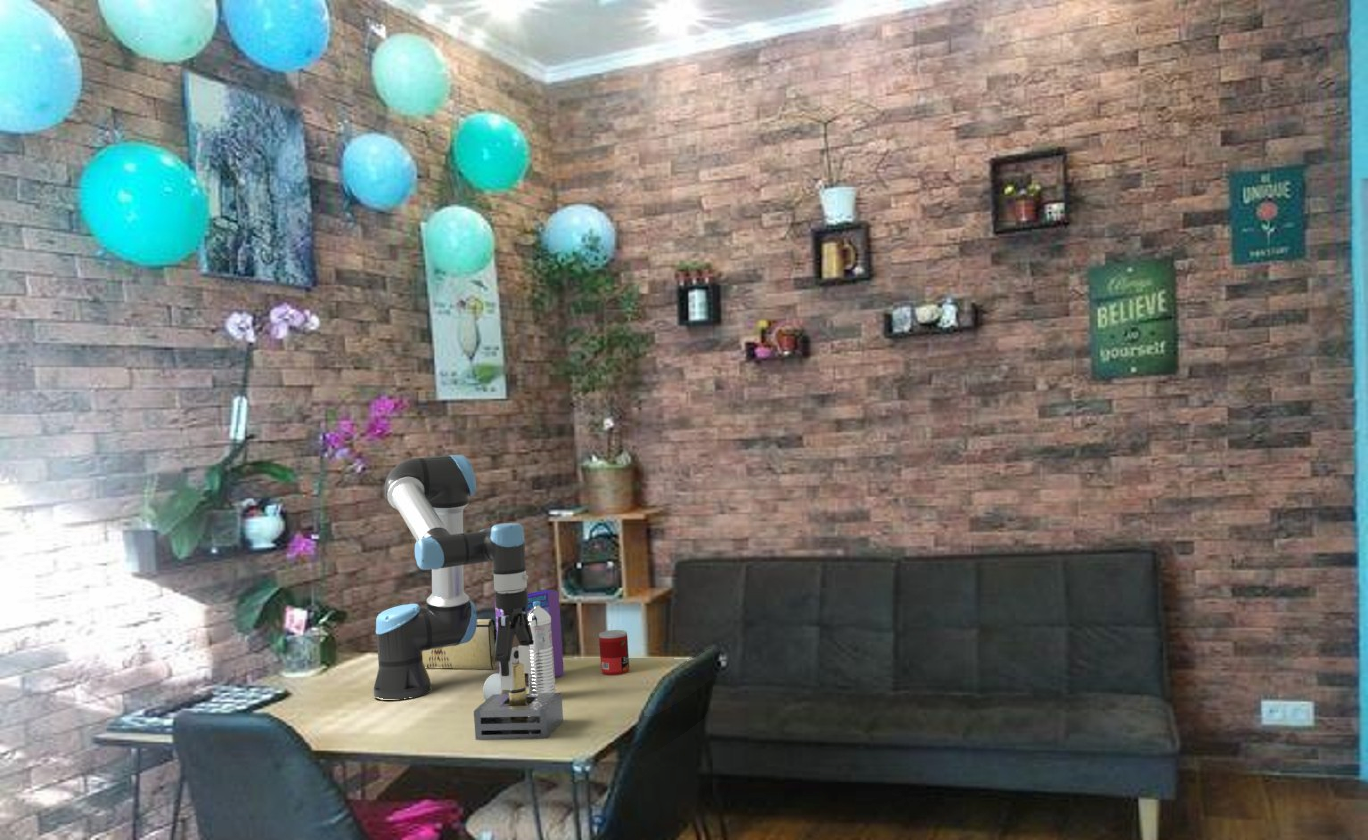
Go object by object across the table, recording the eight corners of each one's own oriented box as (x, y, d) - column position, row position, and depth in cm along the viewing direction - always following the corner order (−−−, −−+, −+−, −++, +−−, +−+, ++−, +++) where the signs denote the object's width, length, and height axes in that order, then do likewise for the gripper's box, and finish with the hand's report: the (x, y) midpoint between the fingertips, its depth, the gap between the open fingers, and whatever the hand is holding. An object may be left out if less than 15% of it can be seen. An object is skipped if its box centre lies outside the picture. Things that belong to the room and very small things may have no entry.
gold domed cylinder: (508, 728, 224) (503, 668, 224) (514, 722, 228) (509, 663, 228) (525, 727, 223) (520, 667, 223) (530, 721, 227) (526, 662, 227)
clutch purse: (508, 664, 289) (505, 614, 289) (497, 671, 282) (494, 619, 282) (421, 663, 298) (418, 615, 298) (408, 669, 291) (405, 620, 291)
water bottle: (550, 701, 246) (544, 604, 246) (525, 702, 248) (519, 604, 248) (559, 694, 253) (553, 598, 253) (535, 694, 255) (528, 599, 255)
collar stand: (475, 739, 220) (473, 710, 220) (494, 721, 233) (493, 694, 233) (547, 737, 218) (545, 709, 218) (563, 719, 231) (561, 692, 231)
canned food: (628, 674, 268) (625, 634, 268) (599, 676, 268) (597, 636, 268) (630, 667, 276) (627, 628, 276) (602, 669, 276) (600, 630, 276)
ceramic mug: (503, 711, 241) (501, 680, 241) (482, 706, 246) (481, 676, 246) (536, 701, 249) (534, 671, 249) (515, 696, 254) (514, 667, 254)
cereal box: (508, 689, 261) (502, 600, 261) (500, 686, 265) (494, 598, 265) (564, 675, 272) (558, 590, 272) (555, 672, 276) (549, 588, 276)
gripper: (509, 600, 213) (515, 696, 213) (542, 579, 237) (547, 666, 237) (476, 601, 214) (482, 697, 214) (512, 581, 238) (518, 666, 238)
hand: (516, 680), depth 226 cm, fingers open, 13 cm apart
